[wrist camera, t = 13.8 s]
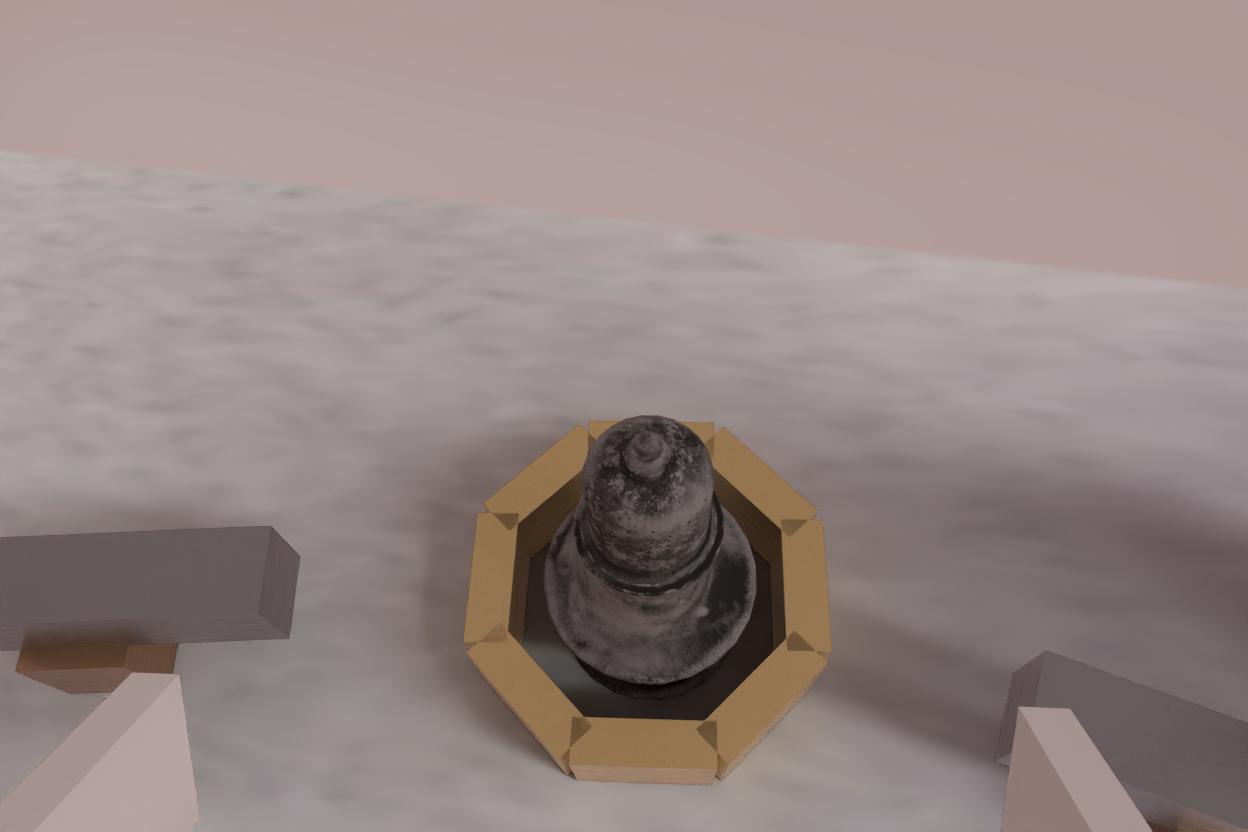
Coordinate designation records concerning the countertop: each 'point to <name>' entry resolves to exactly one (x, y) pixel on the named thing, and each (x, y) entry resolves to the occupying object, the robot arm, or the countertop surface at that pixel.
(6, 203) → the countertop surface
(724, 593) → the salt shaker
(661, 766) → the brass collar
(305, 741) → the countertop surface
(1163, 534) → the countertop surface
